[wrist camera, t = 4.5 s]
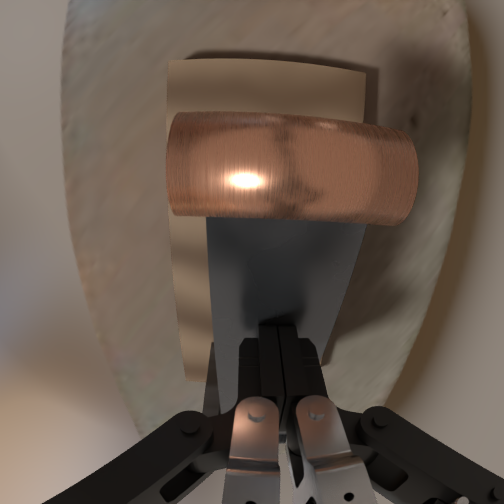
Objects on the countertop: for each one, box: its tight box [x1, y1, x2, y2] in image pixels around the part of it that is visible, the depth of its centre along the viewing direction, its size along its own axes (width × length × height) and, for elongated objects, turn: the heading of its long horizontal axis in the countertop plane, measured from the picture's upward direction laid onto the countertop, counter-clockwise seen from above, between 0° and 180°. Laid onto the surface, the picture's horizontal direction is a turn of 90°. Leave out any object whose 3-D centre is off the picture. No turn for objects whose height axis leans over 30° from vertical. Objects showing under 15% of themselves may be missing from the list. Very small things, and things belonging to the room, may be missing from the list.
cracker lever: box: [166, 111, 419, 444], centre depth 16 cm, size 24×6×6 cm, turn 178°
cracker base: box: [166, 59, 366, 440], centre depth 20 cm, size 30×14×13 cm, turn 178°
